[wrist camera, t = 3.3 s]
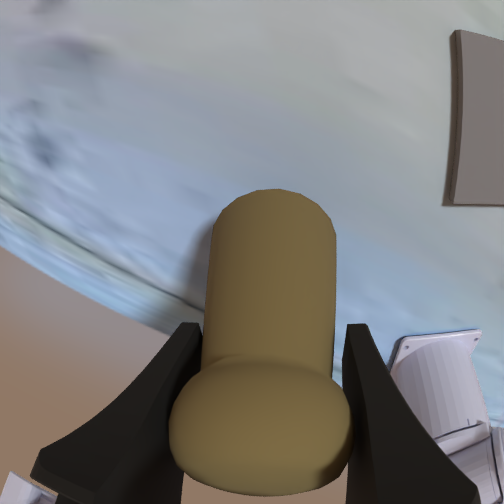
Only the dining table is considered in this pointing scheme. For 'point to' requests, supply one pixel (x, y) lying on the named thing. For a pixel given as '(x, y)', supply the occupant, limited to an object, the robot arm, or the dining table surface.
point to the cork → (266, 355)
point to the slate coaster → (479, 121)
